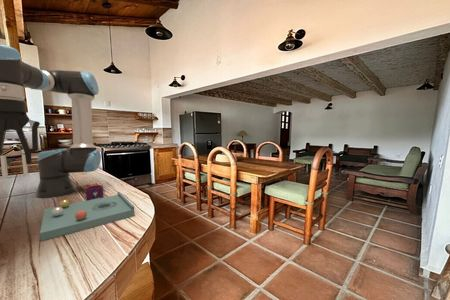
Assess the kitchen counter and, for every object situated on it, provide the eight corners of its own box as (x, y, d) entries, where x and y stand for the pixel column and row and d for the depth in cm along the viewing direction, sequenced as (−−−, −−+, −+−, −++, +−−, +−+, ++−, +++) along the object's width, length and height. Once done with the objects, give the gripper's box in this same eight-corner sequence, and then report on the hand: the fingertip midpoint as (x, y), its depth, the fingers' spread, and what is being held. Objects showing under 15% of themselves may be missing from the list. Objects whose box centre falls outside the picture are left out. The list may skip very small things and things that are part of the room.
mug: (86, 205, 85) (85, 190, 84) (86, 198, 93) (84, 185, 92) (104, 201, 89) (103, 187, 88) (102, 196, 97) (101, 182, 96)
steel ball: (52, 215, 68) (51, 207, 68) (64, 213, 70) (63, 204, 70) (51, 218, 66) (51, 209, 65) (64, 216, 68) (63, 207, 68)
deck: (45, 215, 75) (44, 205, 74) (119, 199, 92) (119, 191, 91) (40, 241, 57) (39, 229, 56) (134, 215, 73) (134, 206, 73)
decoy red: (75, 219, 65) (74, 210, 65) (86, 216, 67) (86, 207, 67) (75, 222, 63) (74, 213, 63) (87, 219, 65) (87, 210, 65)
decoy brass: (59, 207, 76) (58, 199, 76) (70, 205, 78) (69, 197, 78) (59, 209, 73) (58, 201, 73) (70, 207, 76) (69, 199, 75)
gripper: (-44, 94, 50) (-32, 182, 52) (44, 100, 61) (51, 173, 63) (-33, 98, 56) (-23, 177, 58) (45, 103, 67) (52, 169, 69)
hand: (15, 175), depth 61 cm, fingers open, 4 cm apart
